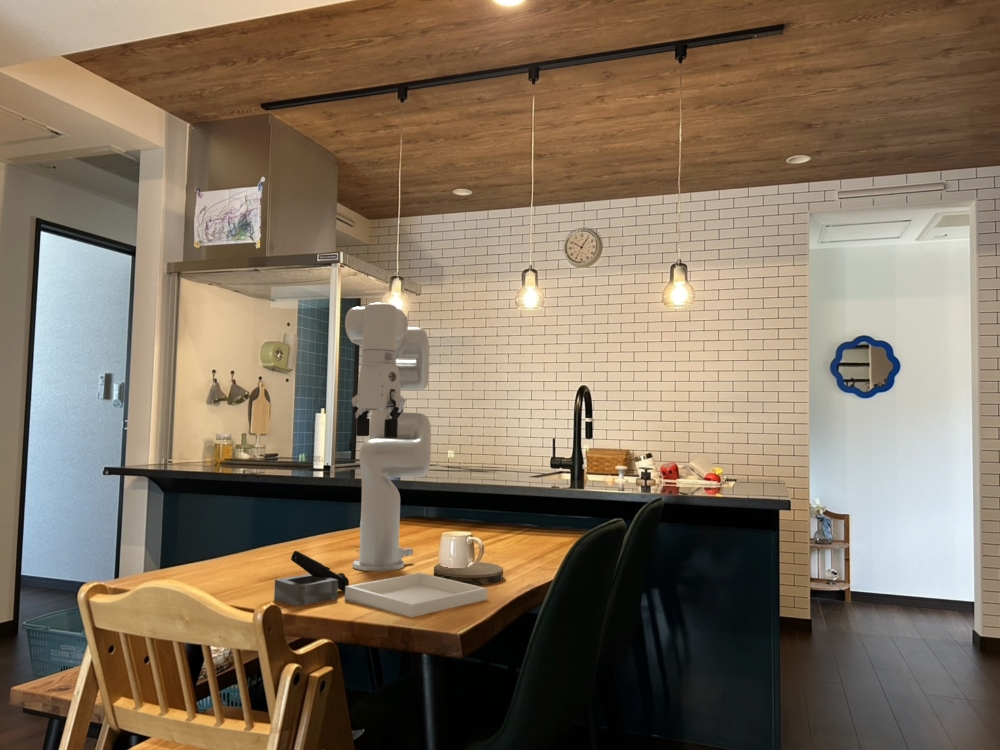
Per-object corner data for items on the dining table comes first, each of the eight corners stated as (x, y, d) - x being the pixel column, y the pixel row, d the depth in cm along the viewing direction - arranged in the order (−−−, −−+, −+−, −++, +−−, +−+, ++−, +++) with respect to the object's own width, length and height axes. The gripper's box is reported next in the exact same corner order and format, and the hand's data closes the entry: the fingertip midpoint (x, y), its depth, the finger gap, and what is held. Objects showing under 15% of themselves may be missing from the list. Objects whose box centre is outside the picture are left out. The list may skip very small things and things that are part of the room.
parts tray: (419, 586, 167) (420, 572, 167) (486, 603, 154) (487, 588, 154) (344, 601, 152) (345, 586, 152) (411, 621, 139) (412, 604, 139)
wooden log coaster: (465, 571, 186) (465, 558, 187) (516, 581, 176) (517, 568, 177) (418, 581, 174) (419, 567, 174) (471, 592, 164) (471, 578, 164)
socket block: (313, 592, 159) (314, 573, 159) (337, 600, 153) (338, 579, 153) (274, 600, 152) (275, 579, 152) (297, 607, 146) (298, 586, 147)
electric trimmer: (282, 561, 152) (291, 547, 153) (337, 588, 162) (345, 574, 163) (292, 567, 149) (301, 552, 150) (347, 594, 159) (355, 579, 160)
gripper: (417, 359, 167) (415, 438, 166) (368, 361, 178) (365, 435, 177) (391, 357, 161) (388, 438, 160) (341, 359, 173) (338, 435, 172)
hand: (376, 436), depth 169 cm, fingers open, 9 cm apart
